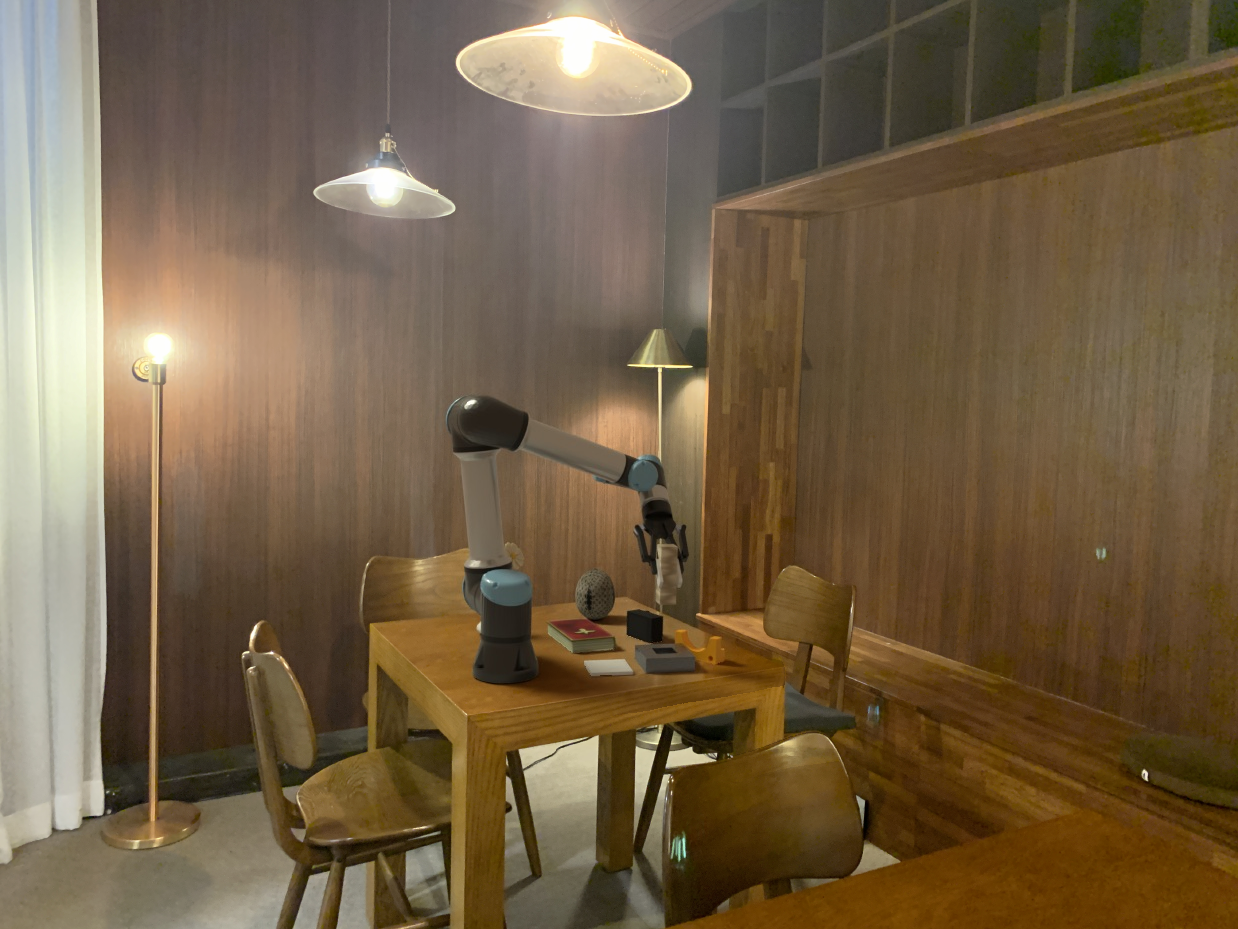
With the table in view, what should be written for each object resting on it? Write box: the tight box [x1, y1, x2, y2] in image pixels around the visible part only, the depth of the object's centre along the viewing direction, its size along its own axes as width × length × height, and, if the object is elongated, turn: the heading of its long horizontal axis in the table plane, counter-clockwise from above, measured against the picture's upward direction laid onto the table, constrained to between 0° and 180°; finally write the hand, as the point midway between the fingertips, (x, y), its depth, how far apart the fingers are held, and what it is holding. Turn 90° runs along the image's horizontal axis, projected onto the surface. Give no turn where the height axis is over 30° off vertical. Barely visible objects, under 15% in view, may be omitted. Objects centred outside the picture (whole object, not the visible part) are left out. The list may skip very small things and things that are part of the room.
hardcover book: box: [545, 617, 617, 654], centre depth 238 cm, size 12×21×4 cm, turn 22°
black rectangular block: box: [625, 608, 664, 644], centre depth 242 cm, size 10×5×7 cm, turn 39°
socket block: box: [634, 643, 696, 674], centre depth 218 cm, size 12×12×4 cm
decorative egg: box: [574, 568, 616, 621], centre depth 262 cm, size 12×12×15 cm
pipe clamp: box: [674, 628, 726, 665], centre depth 224 cm, size 12×4×6 cm, turn 53°
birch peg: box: [655, 543, 679, 606], centre depth 216 cm, size 4×4×14 cm
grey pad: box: [583, 658, 634, 677], centre depth 213 cm, size 10×10×1 cm
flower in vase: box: [476, 541, 526, 634], centre depth 243 cm, size 13×11×25 cm
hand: (670, 584), depth 213 cm, fingers closed on birch peg, 4 cm apart
